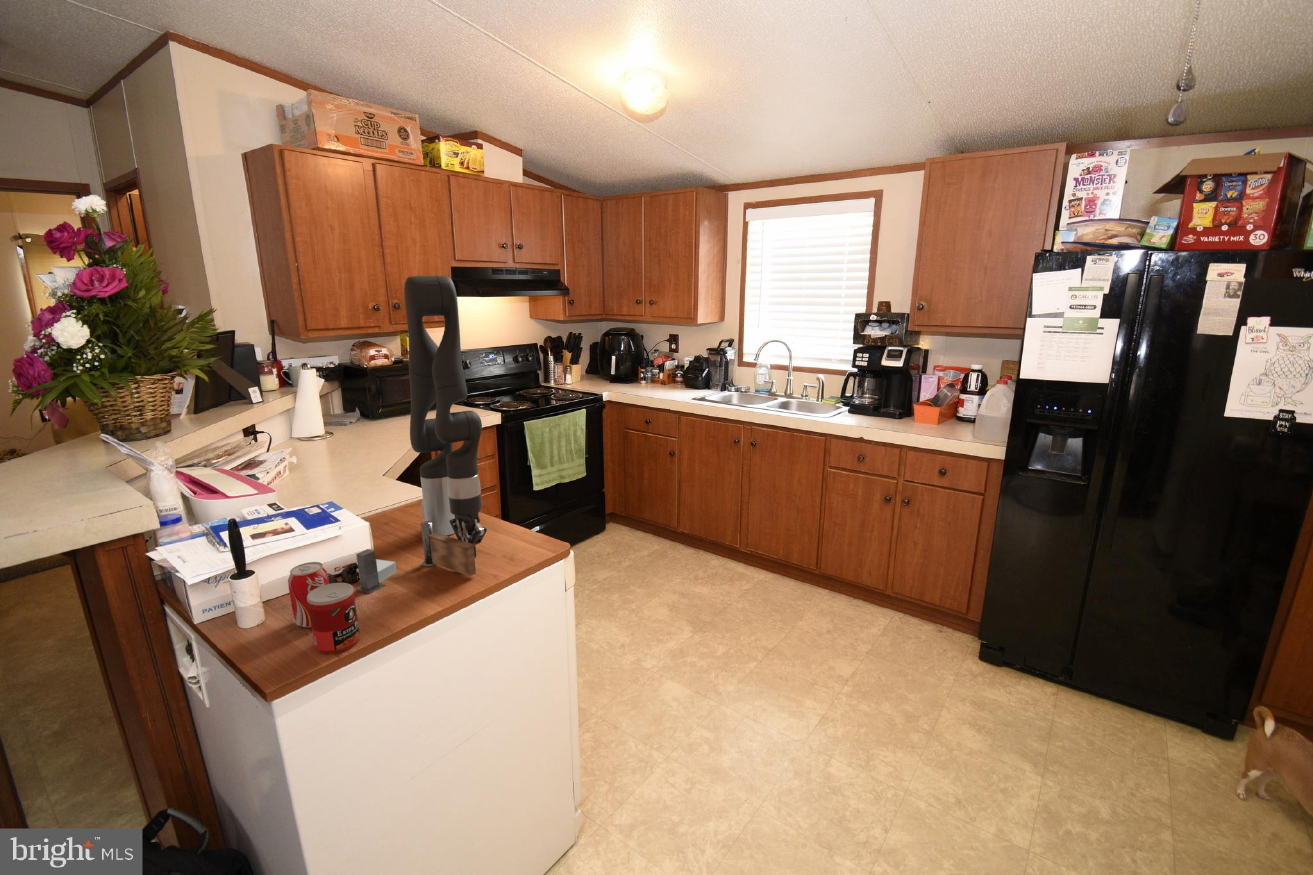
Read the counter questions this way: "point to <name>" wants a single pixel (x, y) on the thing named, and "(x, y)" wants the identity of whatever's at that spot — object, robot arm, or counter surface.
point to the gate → (452, 554)
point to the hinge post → (427, 543)
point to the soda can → (305, 588)
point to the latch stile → (368, 572)
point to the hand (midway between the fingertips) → (470, 558)
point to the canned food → (333, 617)
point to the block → (385, 569)
